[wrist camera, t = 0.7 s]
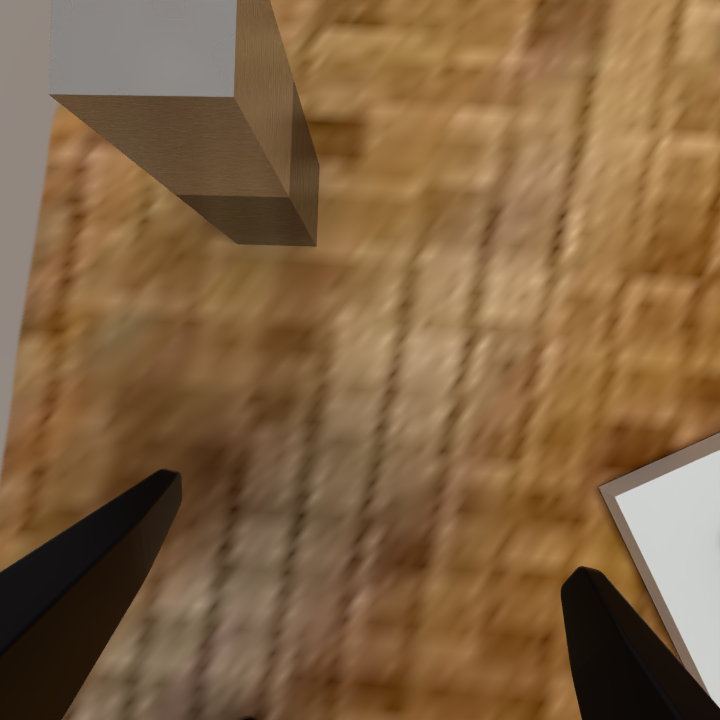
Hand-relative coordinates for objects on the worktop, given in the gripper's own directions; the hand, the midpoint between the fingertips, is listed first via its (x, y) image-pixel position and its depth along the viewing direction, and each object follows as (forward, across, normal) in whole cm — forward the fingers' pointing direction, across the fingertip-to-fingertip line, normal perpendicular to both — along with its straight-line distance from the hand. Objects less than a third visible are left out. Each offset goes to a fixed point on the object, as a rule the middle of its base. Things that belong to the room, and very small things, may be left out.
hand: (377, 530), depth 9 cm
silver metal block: (+18, +8, -2) cm, 19 cm away
